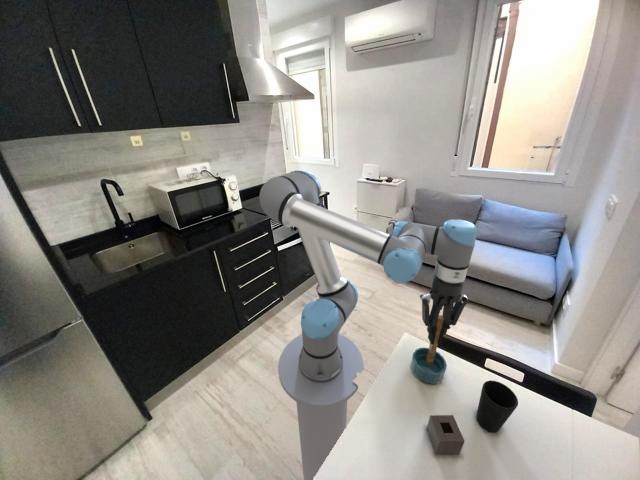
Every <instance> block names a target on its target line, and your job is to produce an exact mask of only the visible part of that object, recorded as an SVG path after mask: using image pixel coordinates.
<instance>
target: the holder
mask: <svg viewBox="0 0 640 480" xmlns="http://www.w3.org/2000/svg"><path fill="white" fill-rule="evenodd" d="M426 432H427V434H428V437H429V440H430V443H431V446H432V449H433V452H434V455H437V456H438V455H439V456H443V455H444V456H446V455H447V456H449V455H452V456H457V455H460V454H461V451H462V449H463V447H464V444H465V439H464V436H463V434H462V432H461V430H460V426H459V425H458V423H457V420H456V419H455V416H454V415H452V414H445V415H444V414H443V415H442V414H435V415H434V414H433V415H429V418H428V422H427V426H426Z"/></svg>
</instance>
